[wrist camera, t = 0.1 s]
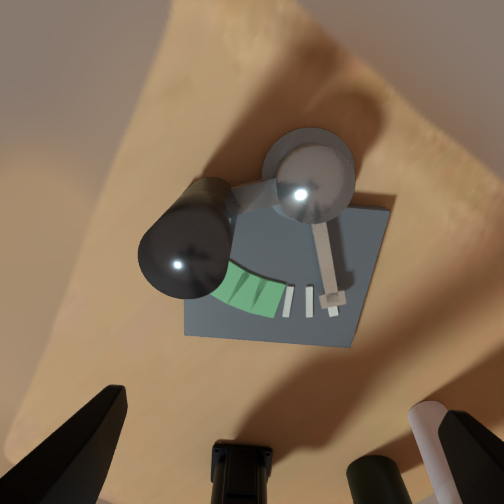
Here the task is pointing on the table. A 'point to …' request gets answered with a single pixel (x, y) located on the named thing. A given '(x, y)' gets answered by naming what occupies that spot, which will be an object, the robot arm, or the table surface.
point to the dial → (241, 201)
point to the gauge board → (291, 269)
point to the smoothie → (433, 449)
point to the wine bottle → (376, 482)
